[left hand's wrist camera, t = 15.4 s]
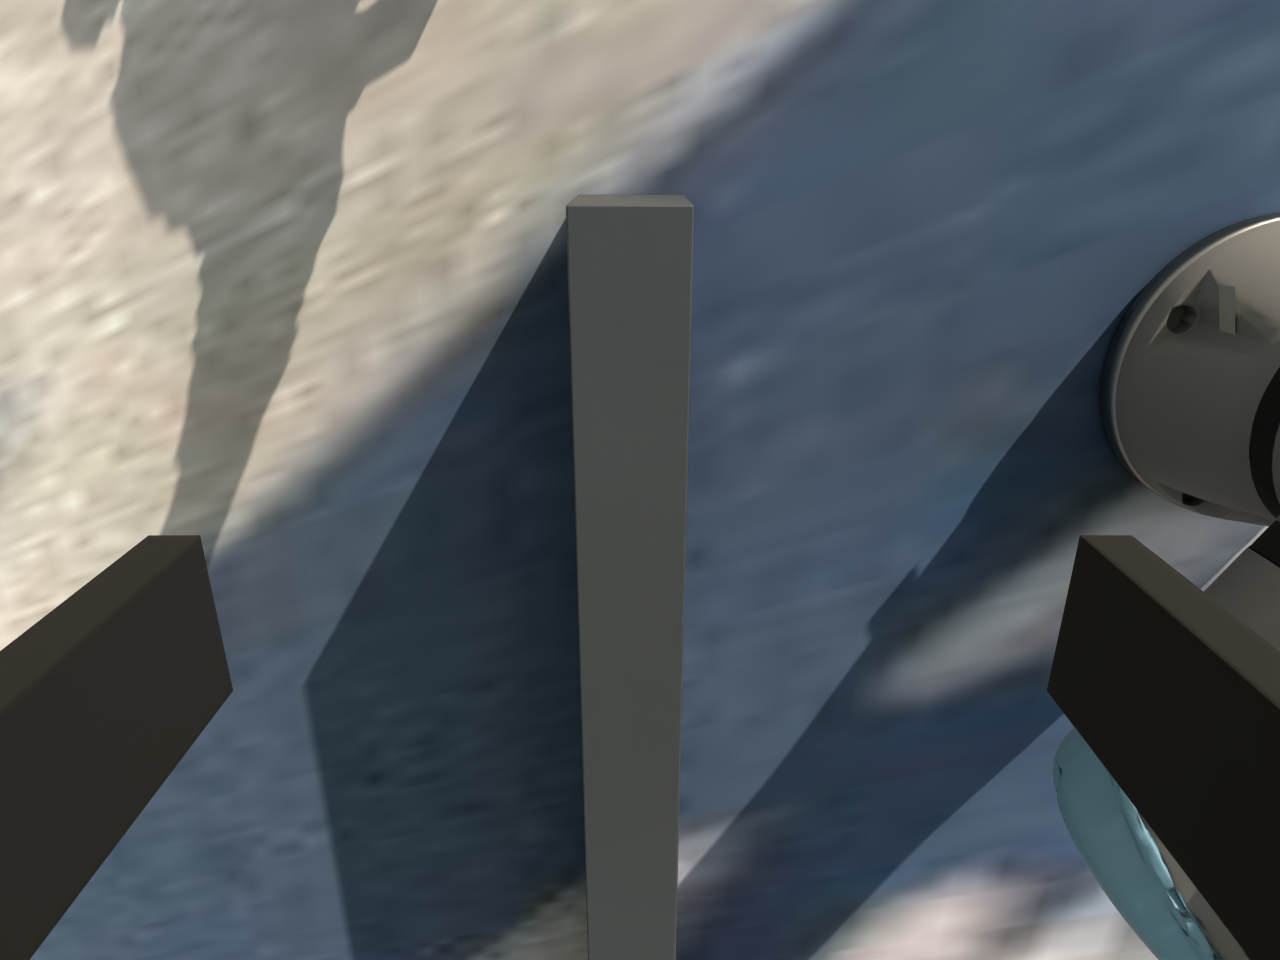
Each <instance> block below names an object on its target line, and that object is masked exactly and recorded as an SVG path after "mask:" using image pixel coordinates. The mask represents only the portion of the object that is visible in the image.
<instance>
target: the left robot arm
mask: <svg viewBox="0 0 1280 960" xmlns="http://www.w3.org/2000/svg"><path fill="white" fill-rule="evenodd" d="M1101 413H1102V419H1103V424H1104V428H1105V432H1106V435H1107V438H1108V440H1109V443H1110V445H1111V447H1112V450H1113V451H1114V453H1115V455H1116V456H1117V458H1118V460H1119V461H1120V462H1121V464H1122V465H1123V466H1124V467H1125V469H1126V470H1127V471H1128V472H1129V473H1130V474H1131V475H1132V476H1133V477H1134V478H1135V479H1136V480H1138V481H1139V482H1140V483H1142V484H1143V485H1144V486H1146V487H1147V488H1149V489H1150V490H1152V491H1153V492H1155V493H1156V494H1158V495H1159V496H1161V497H1163V498H1164V499H1166V500H1168V501H1169V502H1172V503H1174V504H1176V505H1178V506H1180V507H1183V508H1186V509H1188V510H1191V511H1194V512H1197V513H1200V514H1203V515H1207V516H1211V517H1216V518H1222V519H1228V520H1234V521H1240V522H1246V523H1252V524H1258V525H1264V526H1269V527H1268V528H1267V529H1266V530H1265V531H1264V532H1263V534H1262V535H1261V536H1260V537H1259V538H1258V539H1257V540H1256V541H1255V542H1254V543H1253V544H1252V545H1251V546H1249V547H1247V548H1246V549H1245V550H1244V551H1243V552H1242V553H1241V554H1240V555H1239V557H1238V558H1237V559H1236V560H1235V561H1234V562H1233V563H1232V564H1231V565H1230V566H1229V567H1228V568H1227V569H1226V570H1225V571H1224V572H1223V573H1222V574H1221V575H1220V576H1219V577H1218V578H1217V579H1216V580H1215V581H1214V582H1213V583H1212V584H1211V585H1210V586H1209V587H1208V588H1207V589H1206V590H1205V591H1204V592H1203V591H1202V590H1201V589H1199V588H1198V587H1197V586H1195V585H1194V584H1193V583H1192V582H1190V581H1189V580H1188V579H1186V578H1185V577H1184V576H1183V575H1181V574H1180V573H1179V572H1177V571H1176V570H1175V569H1174V568H1172V567H1171V566H1170V565H1168V564H1167V563H1166V562H1165V561H1163V560H1162V559H1161V558H1159V557H1158V556H1157V555H1156V554H1154V553H1153V552H1152V551H1151V550H1149V549H1148V548H1147V547H1145V546H1144V545H1143V544H1142V543H1140V542H1139V541H1138V540H1136V539H1135V538H1134V537H1133V536H1080V538H1079V543H1078V548H1077V552H1076V557H1075V562H1074V566H1073V571H1072V576H1071V580H1070V585H1069V590H1068V594H1067V599H1066V604H1065V609H1064V613H1063V618H1062V623H1061V627H1060V632H1059V637H1058V641H1057V646H1056V651H1055V656H1054V660H1053V665H1052V670H1051V674H1050V679H1049V684H1048V688H1047V691H1048V692H1049V694H1050V695H1051V696H1052V698H1053V699H1054V700H1055V702H1056V703H1057V704H1058V706H1059V707H1060V708H1061V710H1062V711H1063V712H1064V714H1065V715H1066V716H1067V718H1068V719H1069V720H1070V722H1071V723H1072V724H1073V726H1074V728H1073V729H1072V730H1071V731H1070V732H1069V733H1068V735H1067V736H1066V737H1065V738H1064V739H1063V741H1062V742H1061V744H1060V746H1059V748H1058V750H1057V753H1056V755H1055V759H1054V765H1053V774H1054V786H1055V789H1056V792H1057V800H1058V804H1059V808H1060V811H1061V814H1062V817H1063V819H1064V821H1065V824H1066V826H1067V829H1068V831H1069V833H1070V835H1071V837H1072V839H1073V841H1074V843H1075V845H1076V847H1077V849H1078V850H1079V852H1080V854H1081V856H1082V857H1083V859H1084V861H1085V863H1086V864H1087V866H1088V868H1089V869H1090V871H1091V873H1092V874H1093V876H1094V877H1095V879H1096V880H1097V882H1098V883H1099V885H1100V886H1101V888H1102V889H1103V891H1104V892H1105V893H1106V895H1107V896H1108V898H1109V899H1110V901H1111V902H1112V903H1113V905H1114V906H1115V907H1116V909H1117V910H1118V911H1119V913H1120V914H1121V915H1122V917H1123V918H1124V919H1125V921H1126V922H1127V923H1128V924H1129V926H1130V927H1131V928H1132V929H1133V931H1134V932H1135V933H1136V934H1137V935H1138V937H1139V938H1140V939H1141V940H1142V941H1143V943H1144V944H1145V945H1146V946H1147V947H1148V948H1149V950H1150V951H1151V952H1152V953H1153V954H1154V955H1155V956H1156V957H1157V958H1158V960H1280V213H1276V214H1270V215H1264V216H1259V217H1256V218H1252V219H1248V220H1244V221H1242V222H1239V223H1236V224H1233V225H1231V226H1228V227H1226V228H1224V229H1222V230H1219V231H1217V232H1215V233H1213V234H1211V235H1209V236H1208V237H1206V238H1204V239H1202V240H1200V241H1199V242H1197V243H1196V244H1194V245H1193V246H1191V247H1190V248H1188V249H1187V250H1185V251H1184V252H1182V253H1181V254H1180V255H1179V256H1177V257H1176V258H1175V259H1174V260H1172V261H1171V262H1170V263H1169V264H1168V265H1167V266H1166V267H1164V268H1163V269H1162V270H1161V271H1160V272H1159V273H1158V274H1157V275H1156V276H1155V277H1154V278H1153V279H1152V280H1151V281H1150V283H1149V284H1148V285H1147V286H1146V287H1145V288H1144V289H1143V291H1142V292H1141V293H1140V295H1139V296H1138V297H1137V298H1136V300H1135V301H1134V303H1133V304H1132V306H1131V307H1130V309H1129V310H1128V312H1127V313H1126V315H1125V316H1124V318H1123V320H1122V322H1121V324H1120V326H1119V327H1118V329H1117V332H1116V334H1115V336H1114V338H1113V341H1112V343H1111V346H1110V349H1109V352H1108V355H1107V358H1106V362H1105V366H1104V370H1103V376H1102V383H1101ZM1268 560H1269V561H1268ZM232 691H233V688H232V684H231V679H230V674H229V670H228V665H227V660H226V656H225V651H224V646H223V641H222V637H221V632H220V627H219V623H218V618H217V613H216V609H215V604H214V599H213V594H212V590H211V585H210V580H209V576H208V571H207V566H206V562H205V557H204V552H203V548H202V543H201V538H200V536H147V537H146V538H145V539H144V540H142V541H141V542H140V543H138V544H137V545H136V546H135V547H133V548H132V549H131V550H129V551H128V552H127V553H126V554H124V555H123V556H122V557H121V558H119V559H118V560H117V561H115V562H114V563H113V564H112V565H110V566H109V567H108V568H106V569H105V570H104V571H103V572H101V573H100V574H99V575H97V576H96V577H95V578H94V579H92V580H91V581H90V582H88V583H87V584H86V585H85V586H83V587H82V588H81V589H79V590H78V591H77V592H76V593H74V594H73V595H72V596H71V597H69V598H68V599H67V600H65V601H64V602H63V603H62V604H60V605H59V606H58V607H56V608H55V609H54V610H53V611H51V612H50V613H49V614H47V615H46V616H45V617H44V618H42V619H41V620H40V621H38V622H37V623H36V624H35V625H33V626H32V627H31V628H29V629H28V630H27V631H26V632H24V633H23V634H22V635H21V636H19V637H18V638H17V639H15V640H14V641H13V642H12V643H10V644H9V645H8V646H6V647H5V648H4V649H3V650H1V651H0V960H30V958H31V957H32V956H33V954H34V953H35V952H36V950H37V949H38V948H39V946H40V945H41V944H42V942H43V941H44V940H45V938H46V937H47V936H48V935H49V933H50V932H51V931H52V929H53V928H54V927H55V925H56V924H57V923H58V921H59V920H60V919H61V917H62V916H63V915H64V913H65V912H66V911H67V909H68V908H69V907H70V905H71V904H72V903H73V901H74V900H75V899H76V897H77V896H78V895H79V894H80V892H81V891H82V890H83V888H84V887H85V886H86V884H87V883H88V882H89V880H90V879H91V878H92V876H93V875H94V874H95V872H96V871H97V870H98V868H99V867H100V866H101V864H102V863H103V862H104V860H105V859H106V858H107V856H108V855H109V854H110V853H111V851H112V850H113V849H114V847H115V846H116V845H117V843H118V842H119V841H120V839H121V838H122V837H123V835H124V834H125V833H126V831H127V830H128V829H129V827H130V826H131V825H132V823H133V822H134V821H135V819H136V818H137V817H138V815H139V814H140V813H141V812H142V810H143V809H144V808H145V806H146V805H147V804H148V802H149V801H150V800H151V798H152V797H153V796H154V794H155V793H156V792H157V790H158V789H159V788H160V786H161V785H162V784H163V782H164V781H165V780H166V778H167V777H168V776H169V774H170V773H171V772H172V771H173V769H174V768H175V767H176V765H177V764H178V763H179V761H180V760H181V759H182V757H183V756H184V755H185V753H186V752H187V751H188V749H189V748H190V747H191V745H192V744H193V743H194V741H195V740H196V739H197V737H198V736H199V735H200V733H201V732H202V731H203V730H204V728H205V727H206V726H207V724H208V723H209V722H210V720H211V719H212V718H213V716H214V715H215V714H216V712H217V711H218V710H219V708H220V707H221V706H222V704H223V703H224V702H225V700H226V699H227V698H228V696H229V695H230V694H231V692H232Z"/></svg>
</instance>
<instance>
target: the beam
mask: <svg viewBox="0 0 1280 960" xmlns="http://www.w3.org/2000/svg"><path fill="white" fill-rule="evenodd" d="M566 223H567V257H568V291H569V325H570V358H571V392H572V426H573V460H574V493H575V527H576V561H577V595H578V629H579V662H580V696H581V730H582V764H583V797H584V831H585V865H586V899H587V932H588V960H676V921H677V881H678V840H679V799H680V759H681V718H682V677H683V637H684V596H685V555H686V514H687V474H688V433H689V392H690V352H691V311H692V270H693V230H694V206H693V205H692V204H691V203H690V202H689V201H688V200H687V199H686V198H685V197H684V196H683V195H578V196H577V197H576V198H575V199H574V200H572V201H571V202H570V203H569V204H568V205H567V206H566Z"/></svg>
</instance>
